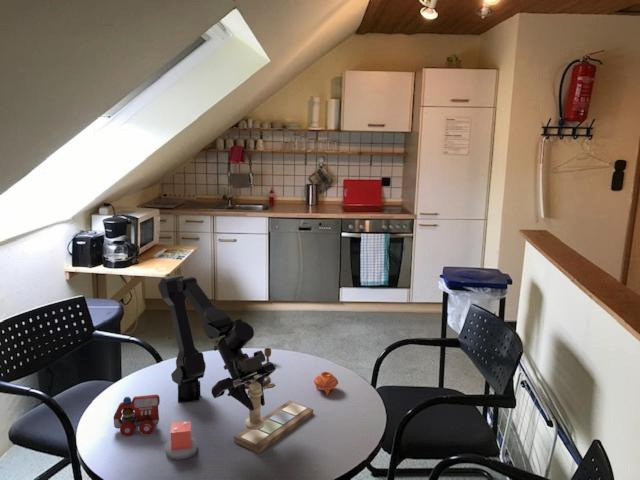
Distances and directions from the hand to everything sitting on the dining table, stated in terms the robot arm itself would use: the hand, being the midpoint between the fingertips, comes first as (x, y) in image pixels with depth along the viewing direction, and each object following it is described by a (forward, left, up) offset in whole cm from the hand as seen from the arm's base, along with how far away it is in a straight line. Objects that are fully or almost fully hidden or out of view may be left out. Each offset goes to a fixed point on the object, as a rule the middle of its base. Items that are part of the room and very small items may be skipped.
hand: (258, 407), depth 146 cm
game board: (+6, +7, -11) cm, 14 cm away
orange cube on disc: (-20, +1, -11) cm, 23 cm away
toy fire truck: (-32, +14, -11) cm, 37 cm away
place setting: (+6, +40, -11) cm, 42 cm away
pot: (+26, +26, -11) cm, 38 cm away
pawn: (-1, +1, -6) cm, 6 cm away
